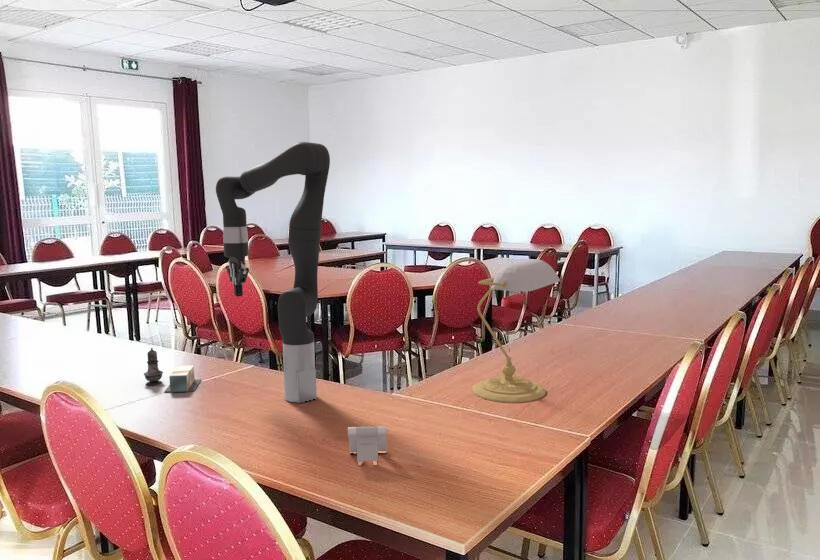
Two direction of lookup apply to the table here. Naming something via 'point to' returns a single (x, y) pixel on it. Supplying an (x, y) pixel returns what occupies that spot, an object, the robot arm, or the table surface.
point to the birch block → (182, 378)
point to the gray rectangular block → (192, 388)
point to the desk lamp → (516, 280)
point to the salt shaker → (153, 370)
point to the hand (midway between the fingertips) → (238, 295)
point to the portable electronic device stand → (367, 442)
